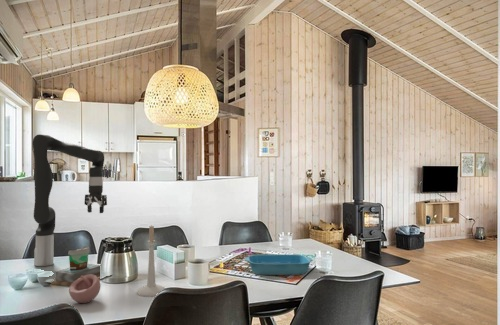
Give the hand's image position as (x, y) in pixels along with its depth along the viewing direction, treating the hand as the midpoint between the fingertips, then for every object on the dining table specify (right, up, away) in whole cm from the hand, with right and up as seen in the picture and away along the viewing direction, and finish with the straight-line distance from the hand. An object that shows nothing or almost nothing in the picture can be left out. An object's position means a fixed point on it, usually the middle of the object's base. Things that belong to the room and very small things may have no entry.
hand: (95, 212), depth 220 cm
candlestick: (+45, -30, -48) cm, 72 cm away
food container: (+5, -24, -29) cm, 38 cm away
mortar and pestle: (+21, -29, -62) cm, 71 cm away
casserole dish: (+105, -30, -13) cm, 110 cm away
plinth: (+3, -30, -28) cm, 41 cm away
